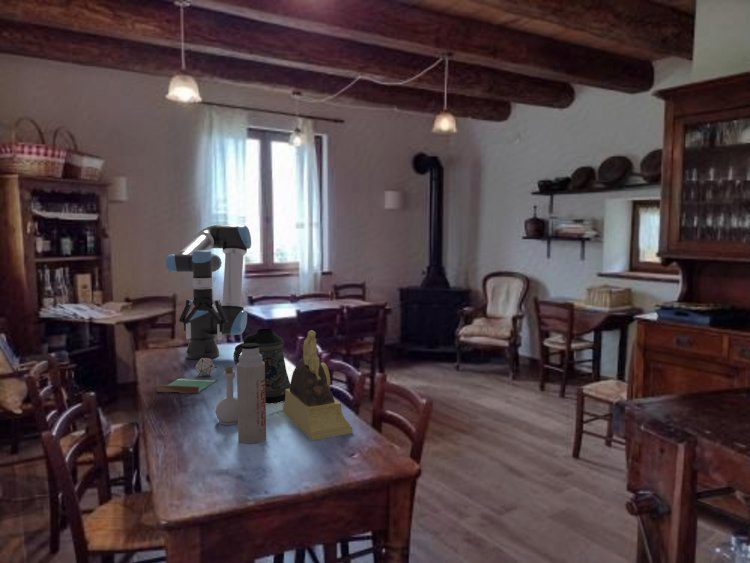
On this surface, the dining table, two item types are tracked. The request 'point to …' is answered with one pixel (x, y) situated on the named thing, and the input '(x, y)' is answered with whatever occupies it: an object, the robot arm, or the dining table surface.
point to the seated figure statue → (314, 397)
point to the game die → (205, 366)
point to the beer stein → (269, 363)
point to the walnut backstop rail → (178, 389)
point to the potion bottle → (228, 401)
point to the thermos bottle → (251, 395)
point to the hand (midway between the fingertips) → (204, 339)
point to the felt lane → (194, 382)
